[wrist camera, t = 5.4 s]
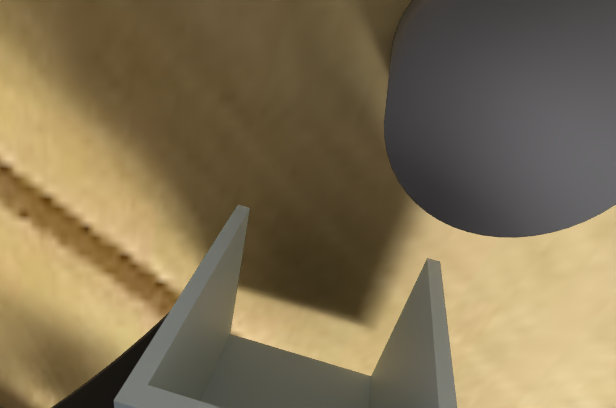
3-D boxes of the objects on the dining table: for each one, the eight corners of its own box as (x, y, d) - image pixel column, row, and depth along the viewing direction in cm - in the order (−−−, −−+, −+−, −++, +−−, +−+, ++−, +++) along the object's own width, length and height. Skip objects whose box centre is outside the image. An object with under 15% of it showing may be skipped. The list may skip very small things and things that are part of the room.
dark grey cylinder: (371, 112, 11) (354, 200, 7) (424, -66, 9) (440, -69, 5) (522, 153, 11) (584, 264, 7) (614, -19, 9) (774, 13, 5)
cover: (219, 337, 15) (124, 540, 10) (237, 204, 12) (113, 400, 7) (378, 385, 15) (365, 619, 9) (440, 261, 11) (469, 510, 6)
